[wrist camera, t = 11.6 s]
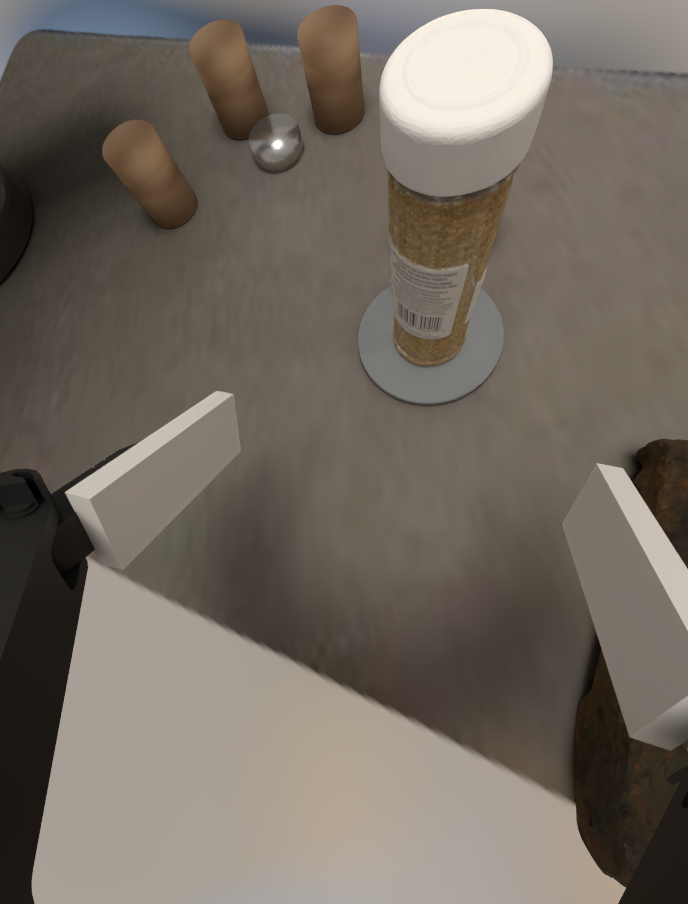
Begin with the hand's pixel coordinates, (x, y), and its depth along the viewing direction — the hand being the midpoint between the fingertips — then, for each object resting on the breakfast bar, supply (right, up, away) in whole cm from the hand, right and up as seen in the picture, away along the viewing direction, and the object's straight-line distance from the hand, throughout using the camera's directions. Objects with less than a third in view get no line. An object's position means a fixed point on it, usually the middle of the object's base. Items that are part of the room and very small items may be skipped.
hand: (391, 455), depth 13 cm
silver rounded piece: (-7, +24, +15) cm, 29 cm away
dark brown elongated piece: (+13, -9, +5) cm, 17 cm away
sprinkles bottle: (+4, +7, +9) cm, 12 cm away
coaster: (+4, +7, +10) cm, 13 cm away
